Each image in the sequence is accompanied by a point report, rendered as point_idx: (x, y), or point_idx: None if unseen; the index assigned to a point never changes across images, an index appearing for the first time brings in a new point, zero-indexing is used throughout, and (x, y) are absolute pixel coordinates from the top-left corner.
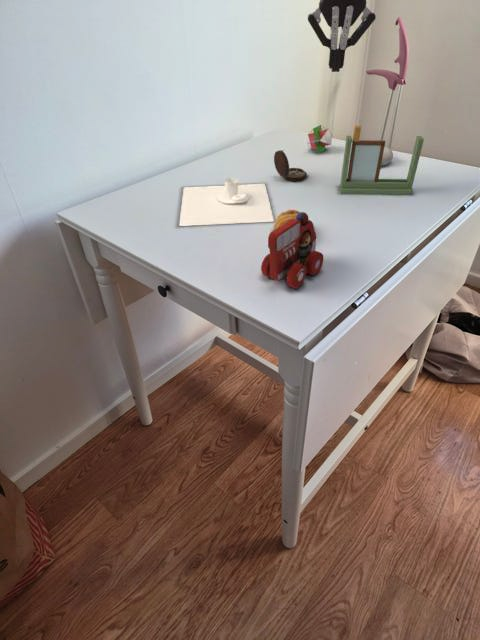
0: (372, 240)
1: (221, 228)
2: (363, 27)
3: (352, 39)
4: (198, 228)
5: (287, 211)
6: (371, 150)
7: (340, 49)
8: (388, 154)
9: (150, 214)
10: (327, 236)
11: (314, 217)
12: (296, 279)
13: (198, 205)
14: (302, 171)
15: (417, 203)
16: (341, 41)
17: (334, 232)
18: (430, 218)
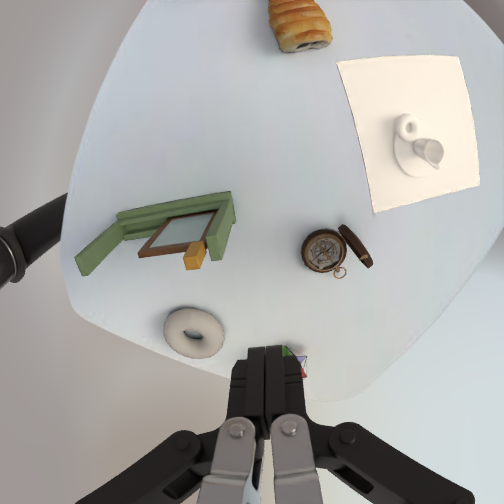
0: (167, 38)
1: (407, 43)
2: (126, 491)
3: (185, 455)
4: (435, 47)
5: (316, 35)
6: (167, 241)
7: (251, 422)
8: (167, 326)
9: (494, 97)
10: (237, 29)
11: (268, 84)
12: None
13: (455, 119)
14: (310, 262)
15: (108, 182)
16: (247, 449)
17: (227, 42)
18: (90, 136)
